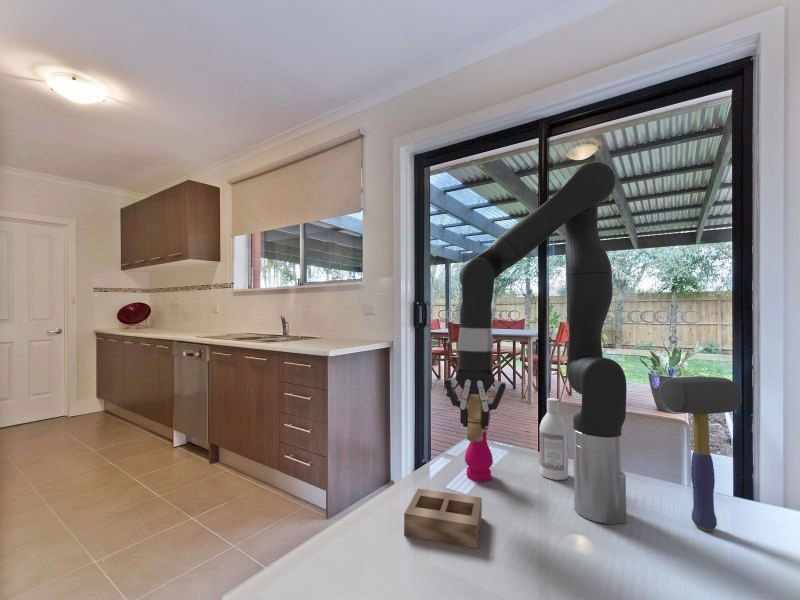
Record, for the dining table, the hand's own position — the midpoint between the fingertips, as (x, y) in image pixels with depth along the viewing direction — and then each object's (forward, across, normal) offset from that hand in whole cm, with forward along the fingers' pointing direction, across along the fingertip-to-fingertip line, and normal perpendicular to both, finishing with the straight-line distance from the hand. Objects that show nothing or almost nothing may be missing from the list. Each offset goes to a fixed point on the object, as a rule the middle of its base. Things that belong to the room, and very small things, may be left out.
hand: (474, 426), depth 82 cm
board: (+18, +5, +9) cm, 20 cm away
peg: (+3, 0, 0) cm, 3 cm away
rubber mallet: (+17, -44, -7) cm, 48 cm away
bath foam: (+17, -18, -24) cm, 35 cm away
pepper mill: (+18, +1, -17) cm, 25 cm away
